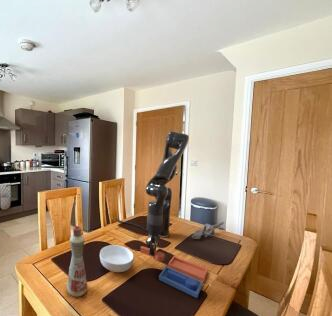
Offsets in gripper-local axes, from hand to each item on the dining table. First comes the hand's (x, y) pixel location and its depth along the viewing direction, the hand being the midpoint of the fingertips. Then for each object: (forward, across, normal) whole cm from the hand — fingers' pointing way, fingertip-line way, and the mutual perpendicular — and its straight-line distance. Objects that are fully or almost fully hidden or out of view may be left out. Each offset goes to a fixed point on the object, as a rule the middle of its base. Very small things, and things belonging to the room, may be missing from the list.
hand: (152, 253), depth 101 cm
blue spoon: (+5, +4, +15) cm, 17 cm away
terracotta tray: (+6, -8, +15) cm, 18 cm away
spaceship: (+7, -59, +16) cm, 61 cm away
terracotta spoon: (+1, 0, 0) cm, 1 cm away
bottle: (+6, +38, -16) cm, 42 cm away
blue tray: (+6, +4, +15) cm, 17 cm away
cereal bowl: (+6, +14, -13) cm, 20 cm away
